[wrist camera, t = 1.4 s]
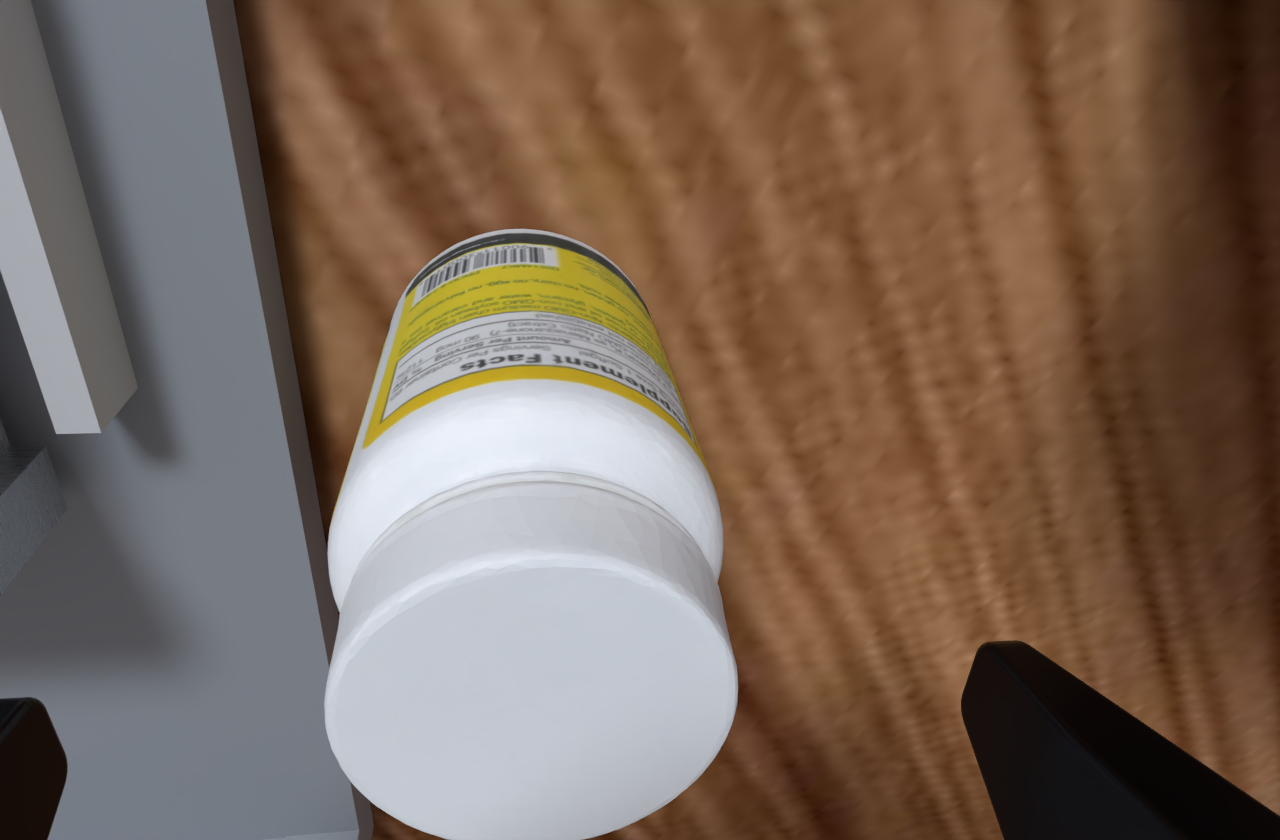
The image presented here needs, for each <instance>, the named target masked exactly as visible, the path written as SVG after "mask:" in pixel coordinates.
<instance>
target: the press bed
mask: <svg viewBox="0 0 1280 840" xmlns="http://www.w3.org/2000/svg"><path fill="white" fill-rule="evenodd" d="M0 420H1V423H2V425H3V428H4V431H5V433H6V436H7V438H8V441H9V444H10V446H11V447H46V449H47V452H48V455H49V458H50V461H51V464H52V466H53V469H54V472H55V475H56V478H57V481H58V483H59V486H60V489H61V492H62V495H63V498H64V501H65V503H66V506H67V510H66V511H65V513H64V514H63V515H62V517H61V518H60V519H59V520H58V522H57V523H56V524H55V526H54V527H53V528H52V529H51V531H50V532H49V533H48V535H47V536H46V537H45V539H44V540H43V541H42V542H41V544H40V545H39V546H38V548H37V549H36V550H35V551H34V553H33V554H32V555H31V557H30V558H29V559H28V561H27V562H26V563H25V564H24V566H23V567H22V568H21V570H20V571H19V572H18V574H17V575H16V576H15V577H14V579H13V580H12V581H11V583H10V584H9V585H8V586H7V588H6V589H5V590H4V592H3V593H2V594H1V596H0V699H3V698H20V697H32V698H37V699H38V700H40V701H41V702H42V703H43V704H44V706H45V707H46V709H47V712H48V714H49V716H50V719H51V721H52V723H53V726H54V728H55V730H56V733H57V735H58V737H59V739H60V742H61V744H62V746H63V749H64V751H65V753H66V757H67V764H68V773H67V779H66V783H65V787H64V790H63V793H62V796H61V799H60V803H59V806H58V809H57V812H56V815H55V818H54V821H53V824H52V828H51V831H50V834H49V837H48V840H372V834H373V828H374V823H373V817H372V811H371V805H370V801H369V800H368V799H367V798H366V797H365V796H364V795H363V794H362V793H361V792H360V791H359V790H358V789H357V788H356V787H355V786H354V785H353V784H352V783H351V781H350V780H349V778H348V777H347V776H346V774H345V773H344V771H343V770H342V769H341V767H340V765H339V763H338V760H337V758H336V756H335V755H334V753H333V751H332V749H331V745H330V742H329V739H328V735H327V731H326V726H325V711H324V699H325V691H326V684H327V678H328V673H329V668H330V663H331V659H332V654H333V650H334V645H335V640H336V635H337V631H338V625H339V618H338V612H337V606H336V602H335V599H334V596H333V592H332V587H331V583H330V578H329V568H328V553H327V547H326V541H325V536H324V530H323V524H322V518H321V512H320V506H319V500H318V495H317V489H316V483H315V477H314V471H313V465H312V459H311V453H310V448H309V442H308V436H307V430H306V424H305V418H304V412H303V407H302V401H301V395H300V389H299V383H298V377H297V371H296V366H295V360H294V354H293V348H292V342H291V336H290V330H289V325H288V319H287V313H286V307H285V301H284V295H283V289H282V283H281V278H280V272H279V266H278V260H277V254H276V248H275V242H274V237H273V231H272V225H271V219H270V213H269V207H268V201H267V196H266V190H265V184H264V178H263V172H262V166H261V160H260V155H259V149H258V143H257V137H256V131H255V125H254V119H253V113H252V108H251V102H250V96H249V90H248V84H247V78H246V72H245V67H244V61H243V55H242V49H241V43H240V37H239V31H238V26H237V20H236V14H235V8H234V2H233V0H0Z"/></svg>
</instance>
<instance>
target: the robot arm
mask: <svg viewBox="0 0 1280 840" xmlns="http://www.w3.org/2000/svg"><path fill="white" fill-rule="evenodd" d="M961 712H962V717H963V721H964V724H965V727H966V730H967V733H968V736H969V739H970V742H971V745H972V747H973V750H974V753H975V756H976V759H977V762H978V765H979V768H980V771H981V774H982V776H983V779H984V782H985V785H986V788H987V791H988V794H989V797H990V800H991V803H992V806H993V808H994V811H995V814H996V817H997V820H998V823H999V826H1000V829H1001V832H1002V835H1003V837H1004V840H1280V816H1279V815H1277V814H1276V813H1275V812H1273V811H1272V810H1270V809H1269V808H1267V807H1266V806H1264V805H1263V804H1261V803H1260V802H1258V801H1257V800H1255V799H1254V798H1253V797H1251V796H1250V795H1248V794H1247V793H1245V792H1244V791H1242V790H1241V789H1239V788H1238V787H1236V786H1235V785H1234V784H1232V783H1231V782H1229V781H1228V780H1226V779H1225V778H1223V777H1222V776H1220V775H1219V774H1217V773H1216V772H1214V771H1213V770H1212V769H1210V768H1209V767H1207V766H1206V765H1204V764H1203V763H1201V762H1200V761H1198V760H1197V759H1195V758H1194V757H1192V756H1191V755H1190V754H1188V753H1187V752H1185V751H1184V750H1182V749H1181V748H1179V747H1178V746H1176V745H1175V744H1173V743H1172V742H1170V741H1169V740H1168V739H1166V738H1165V737H1163V736H1162V735H1160V734H1159V733H1157V732H1156V731H1154V730H1153V729H1151V728H1150V727H1149V726H1147V725H1146V724H1144V723H1143V722H1141V721H1140V720H1138V719H1137V718H1135V717H1134V716H1132V715H1131V714H1129V713H1128V712H1127V711H1125V710H1124V709H1122V708H1121V707H1119V706H1118V705H1116V704H1115V703H1113V702H1112V701H1110V700H1109V699H1107V698H1106V697H1105V696H1103V695H1102V694H1100V693H1099V692H1097V691H1096V690H1094V689H1093V688H1091V687H1090V686H1088V685H1087V684H1085V683H1084V682H1083V681H1081V680H1080V679H1078V678H1077V677H1075V676H1074V675H1072V674H1071V673H1069V672H1068V671H1066V670H1065V669H1063V668H1062V667H1061V666H1059V665H1058V664H1056V663H1055V662H1053V661H1052V660H1050V659H1049V658H1047V657H1046V656H1044V655H1043V654H1042V653H1040V652H1039V651H1037V650H1036V649H1034V648H1033V647H1031V646H1030V645H1028V644H1026V643H1024V642H1022V641H1016V640H1015V641H996V642H986V643H984V644H982V645H981V646H980V647H979V648H978V650H977V652H976V655H975V658H974V661H973V664H972V667H971V670H970V673H969V676H968V679H967V682H966V685H965V688H964V691H963V694H962V699H961ZM67 773H68V764H67V757H66V753H65V751H64V749H63V746H62V744H61V742H60V739H59V737H58V735H57V733H56V730H55V728H54V726H53V723H52V721H51V719H50V716H49V714H48V712H47V709H46V707H45V706H44V704H43V703H42V702H41V701H40V700H38V699H37V698H32V697H20V698H3V699H0V840H48V837H49V834H50V831H51V828H52V824H53V821H54V818H55V815H56V812H57V809H58V806H59V803H60V799H61V796H62V793H63V790H64V787H65V783H66V779H67Z"/></svg>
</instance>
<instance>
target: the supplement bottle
mask: <svg viewBox="0 0 1280 840" xmlns="http://www.w3.org/2000/svg"><path fill="white" fill-rule="evenodd" d="M723 546H724V540H723V524H722V519H721V513H720V508H719V503H718V498H717V494H716V490H715V487H714V484H713V481H712V478H711V475H710V472H709V470H708V467H707V465H706V462H705V459H704V457H703V454H702V452H701V449H700V447H699V444H698V442H697V439H696V436H695V434H694V431H693V428H692V426H691V423H690V420H689V418H688V415H687V412H686V410H685V407H684V404H683V402H682V399H681V396H680V393H679V391H678V388H677V385H676V383H675V380H674V377H673V375H672V372H671V370H670V367H669V364H668V362H667V359H666V356H665V353H664V351H663V348H662V345H661V342H660V340H659V337H658V334H657V332H656V329H655V326H654V324H653V322H652V320H651V317H650V314H649V312H648V309H647V307H646V305H645V303H644V301H643V299H642V297H641V296H640V294H639V292H638V291H637V289H636V287H635V286H634V285H633V283H632V282H631V280H630V279H629V278H628V277H627V276H626V275H625V274H624V273H623V271H622V270H621V269H620V268H619V267H618V266H617V265H615V264H614V263H613V262H612V261H611V260H610V259H608V258H607V257H606V256H604V255H603V254H601V253H600V252H598V251H597V250H595V249H593V248H592V247H590V246H588V245H586V244H584V243H582V242H580V241H577V240H574V239H572V238H569V237H566V236H563V235H560V234H556V233H552V232H546V231H541V230H531V229H506V230H499V231H493V232H488V233H484V234H481V235H477V236H474V237H472V238H469V239H467V240H464V241H462V242H459V243H457V244H456V245H454V246H452V247H450V248H448V249H447V250H445V251H444V252H442V253H441V254H439V255H438V256H437V257H435V258H434V259H432V260H431V261H430V262H429V263H428V264H427V265H426V266H425V267H424V268H423V269H422V270H421V271H420V272H419V273H418V274H417V275H416V276H415V277H414V279H413V280H412V281H411V282H410V284H409V285H408V287H407V288H406V290H405V291H404V293H403V294H402V296H401V298H400V300H399V302H398V305H397V307H396V309H395V312H394V315H393V318H392V321H391V324H390V327H389V330H388V333H387V336H386V340H385V343H384V346H383V349H382V354H381V358H380V361H379V364H378V367H377V371H376V374H375V378H374V381H373V385H372V389H371V392H370V395H369V399H368V402H367V405H366V409H365V412H364V415H363V419H362V422H361V425H360V428H359V432H358V435H357V438H356V442H355V445H354V448H353V451H352V454H351V458H350V461H349V464H348V467H347V470H346V473H345V477H344V480H343V483H342V486H341V489H340V492H339V495H338V499H337V502H336V505H335V508H334V512H333V516H332V520H331V524H330V529H329V538H328V568H329V578H330V583H331V587H332V592H333V596H334V599H335V602H336V604H337V607H338V610H339V612H340V616H339V625H338V631H337V635H336V640H335V645H334V650H333V654H332V659H331V663H330V668H329V673H328V678H327V684H326V691H325V699H324V711H325V726H326V731H327V735H328V739H329V742H330V745H331V749H332V751H333V753H334V755H335V756H336V758H337V760H338V763H339V765H340V767H341V769H342V770H343V771H344V773H345V774H346V776H347V777H348V778H349V780H350V781H351V783H352V784H353V785H354V786H355V787H356V788H357V789H358V790H359V791H360V792H361V793H362V794H363V795H364V796H365V797H366V798H367V799H368V800H369V801H371V802H372V803H373V804H374V805H375V806H377V807H378V808H380V809H381V810H383V811H384V812H386V813H388V814H389V815H391V816H393V817H394V818H396V819H398V820H400V821H401V822H403V823H405V824H407V825H409V826H411V827H413V828H416V829H418V830H420V831H423V832H426V833H429V834H432V835H435V836H438V837H441V838H445V839H449V840H584V839H588V838H592V837H596V836H599V835H603V834H606V833H609V832H612V831H614V830H618V829H621V828H623V827H625V826H628V825H630V824H632V823H634V822H636V821H638V820H640V819H642V818H644V817H646V816H648V815H650V814H651V813H653V812H655V811H656V810H658V809H660V808H661V807H663V806H664V805H666V804H668V803H669V802H670V801H672V800H673V799H674V798H676V797H677V796H678V795H679V794H680V793H681V792H683V791H684V790H685V789H687V788H688V787H689V786H690V785H691V784H692V783H693V782H695V781H696V780H697V779H698V778H699V777H700V776H701V775H702V773H703V772H704V771H705V770H706V768H707V767H708V766H709V765H710V764H711V762H712V761H713V760H714V758H715V757H716V755H717V754H718V752H719V750H720V749H721V747H722V745H723V743H724V742H725V739H726V737H727V735H728V733H729V730H730V728H731V725H732V722H733V719H734V715H735V712H736V707H737V697H738V675H737V665H736V661H735V658H734V654H733V650H732V646H731V642H730V638H729V634H728V629H727V625H726V621H725V616H724V610H723V603H722V598H721V594H720V590H719V586H718V584H717V583H718V579H719V575H720V572H721V566H722V557H723Z"/></svg>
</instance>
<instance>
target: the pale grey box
mask: <svg viewBox="0 0 1280 840" xmlns="http://www.w3.org/2000/svg"><path fill="white" fill-rule="evenodd" d="M66 510H67V506H66V503H65V501H64V498H63V495H62V492H61V489H60V486H59V483H58V481H57V478H56V475H55V472H54V469H53V466H52V464H51V461H50V458H49V455H48V452H47V449H46V447H11V446H10V444H9V441H8V438H7V436H6V433H5V431H4V428H3V425H2V423H1V420H0V596H1V594H2V593H3V592H4V590H5V589H6V588H7V586H8V585H9V584H10V583H11V581H12V580H13V579H14V577H15V576H16V575H17V574H18V572H19V571H20V570H21V568H22V567H23V566H24V564H25V563H26V562H27V561H28V559H29V558H30V557H31V555H32V554H33V553H34V551H35V550H36V549H37V548H38V546H39V545H40V544H41V542H42V541H43V540H44V539H45V537H46V536H47V535H48V533H49V532H50V531H51V529H52V528H53V527H54V526H55V524H56V523H57V522H58V520H59V519H60V518H61V517H62V515H63V514H64V513H65V511H66Z"/></svg>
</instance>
